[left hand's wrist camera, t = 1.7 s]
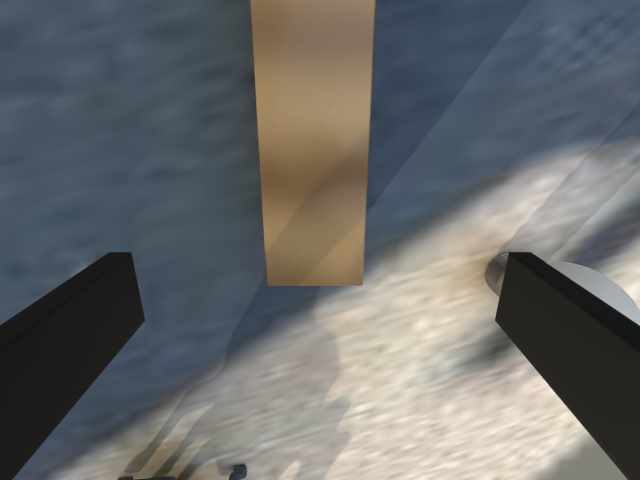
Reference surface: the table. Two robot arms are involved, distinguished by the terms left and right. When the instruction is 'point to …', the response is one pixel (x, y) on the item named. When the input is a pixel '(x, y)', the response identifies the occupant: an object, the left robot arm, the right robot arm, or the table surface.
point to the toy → (236, 476)
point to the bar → (313, 136)
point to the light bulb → (581, 276)
